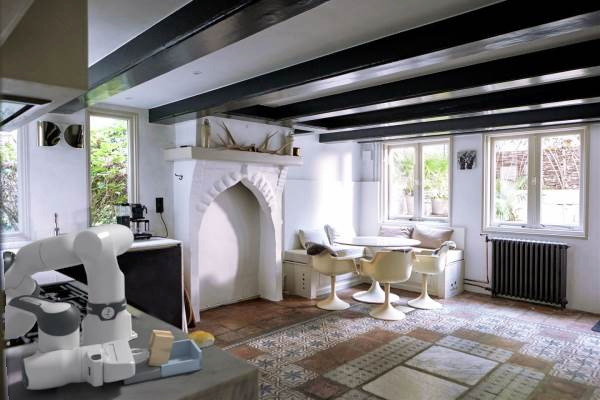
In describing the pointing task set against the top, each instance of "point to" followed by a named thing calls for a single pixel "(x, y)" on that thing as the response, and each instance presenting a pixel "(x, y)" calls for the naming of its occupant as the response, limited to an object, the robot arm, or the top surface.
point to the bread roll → (202, 338)
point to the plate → (143, 372)
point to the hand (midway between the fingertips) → (149, 352)
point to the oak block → (160, 347)
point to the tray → (182, 358)
